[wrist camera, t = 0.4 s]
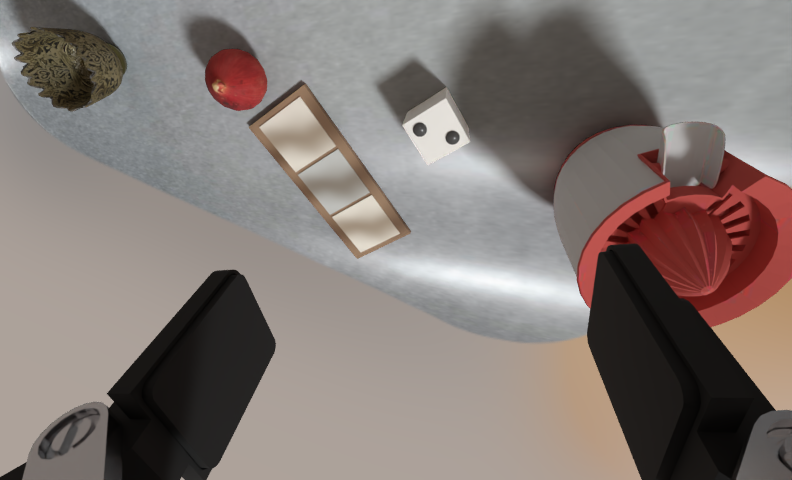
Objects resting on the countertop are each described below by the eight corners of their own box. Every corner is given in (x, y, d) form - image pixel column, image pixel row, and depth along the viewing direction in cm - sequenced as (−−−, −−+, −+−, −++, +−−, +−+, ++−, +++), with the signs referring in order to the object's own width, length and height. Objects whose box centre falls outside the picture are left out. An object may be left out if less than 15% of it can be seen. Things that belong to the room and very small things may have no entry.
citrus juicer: (715, 79, 36) (932, 153, 20) (667, 230, 46) (788, 366, 29) (546, 95, 39) (614, 172, 23) (533, 235, 48) (575, 361, 32)
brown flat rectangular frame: (250, 125, 45) (248, 127, 44) (305, 83, 41) (303, 85, 41) (358, 256, 54) (356, 259, 53) (410, 230, 50) (410, 233, 50)
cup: (120, 13, 40) (54, 18, 33) (159, 85, 44) (106, 102, 37) (67, 31, 42) (-6, 39, 35) (108, 99, 45) (50, 117, 39)
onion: (275, 107, 43) (243, 128, 37) (227, 91, 43) (186, 110, 37) (280, 54, 40) (246, 67, 34) (228, 37, 40) (183, 46, 33)
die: (407, 111, 42) (402, 125, 38) (446, 86, 40) (445, 98, 36) (429, 149, 44) (427, 166, 40) (468, 127, 42) (470, 142, 38)
